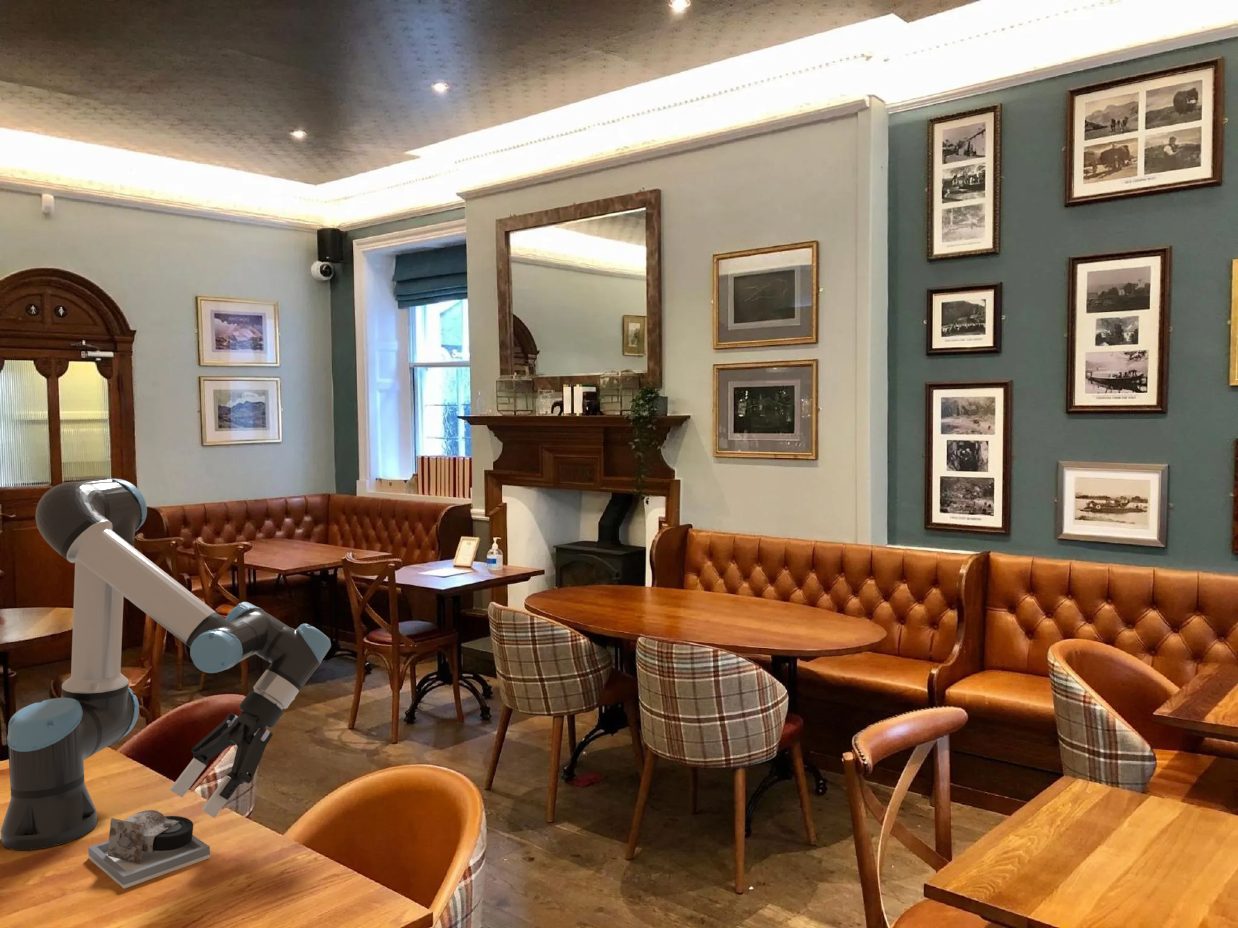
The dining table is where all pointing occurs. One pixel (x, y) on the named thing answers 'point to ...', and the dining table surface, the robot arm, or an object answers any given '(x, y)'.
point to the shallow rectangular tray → (148, 862)
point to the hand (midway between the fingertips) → (191, 803)
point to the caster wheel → (147, 835)
